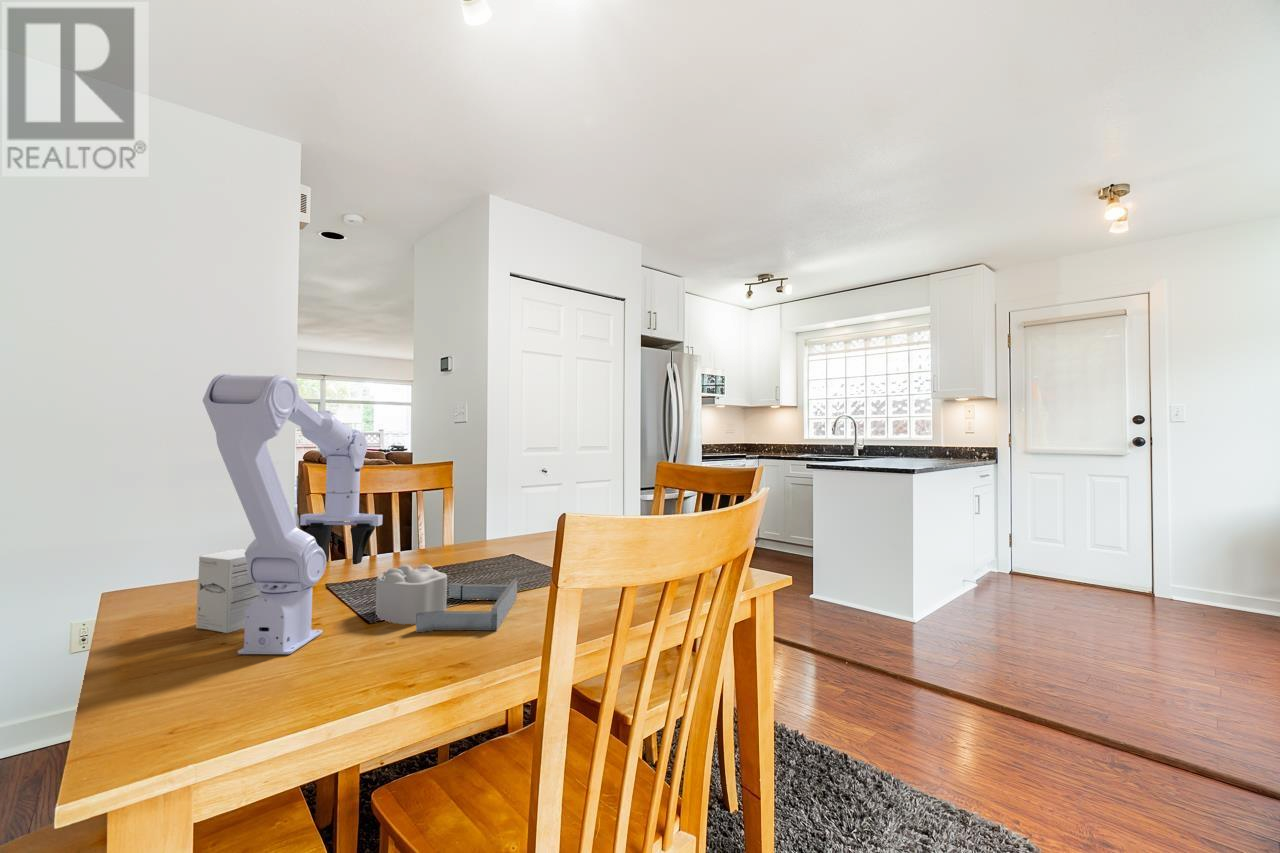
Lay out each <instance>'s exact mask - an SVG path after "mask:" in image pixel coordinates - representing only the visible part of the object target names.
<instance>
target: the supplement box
mask: <svg viewBox="0 0 1280 853" xmlns="http://www.w3.org/2000/svg"><path fill="white" fill-rule="evenodd" d="M246 550H247V549H242V548H237V549H236V548H235V549H229V550H224V551H220V552H214V553H207V554H205V555H199V557H198V558H199V559H198V578H197V579H198V580H197V581H198V582H197V602H196V623H195V628H196V629H201V630H209V631H214V632H219V633H223V634H229V633H233V632H235V631H239V630H242V629H245V613H246V610H247V608H248V607H249V606H250V604H251V603H252V602H254V601H255V600H256V599H257V598H258V596H259V594H260V590H256V589H255V588H256V584H254V583H253V582H251V580H250V579H249V577H248V572H247V559H246V556H245V554H244V553H245V551H246Z"/></svg>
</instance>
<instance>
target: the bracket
mask: <svg viewBox="0 0 1280 853" xmlns="http://www.w3.org/2000/svg"><path fill="white" fill-rule="evenodd" d="M448 585H449V587H448V588H449V590H448V593H449V594H448V599H449V598H454V599H462V600H466V599H467V600H468V599H469V600H470V599H485V600H487V599H488V600H497V601H495V603H494V604H493V605H492V607H491V610H446V611H436V612H435V611H430V612H421V613H416V624H415V632H417V633H416V634H419V633H418V632H422V633H426V632H425V631H429V632H434V631H433V630H497V629H498V630H499V628H500V627H501V625H502V623H503V622H502V621H504V620H505V619H504V618H506V617H507V616H508V614H509V612H510V611H511V609H512V607H513V606H514V604H515V603H514V601H515V600H516V601H517V599H518V579H512V580H511V581H510V583H509V584H484V583H483V584H482V583H481V584H477V583H475V584H471V583H470V584H469V583H467V584H466V583H459V582H452V583H449V584H448ZM516 598H517V599H516ZM454 599H453V600H454ZM462 600H461V601H462ZM516 601H515V602H516ZM513 603H514V604H513ZM512 605H513V606H512ZM511 606H512V607H511ZM510 608H511V609H510ZM509 610H510V611H509ZM508 611H509V612H508ZM507 613H508V614H507ZM505 616H506V617H505ZM503 619H504V620H503ZM501 622H502V623H501ZM500 624H501V625H500ZM499 626H500V627H499ZM498 627H499V628H498ZM498 630H497V631H498Z"/></svg>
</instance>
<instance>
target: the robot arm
mask: <svg viewBox="0 0 1280 853" xmlns="http://www.w3.org/2000/svg"><path fill="white" fill-rule="evenodd" d="M298 386H299V385H298V384H297V383H295V382H293V381H292V380H291V379H290V378H289V377H288V376H286V375H282V374H275V375H240V374H239V375H238V374H237V375H235V374H234V375H232V374H229V373H227V374H226V373H221V374H218V375H216V376H214V378H212V379H211V381H210V382H209V383H208V387H207V388H206V391H205V394H204V396H203V398H202V402H203V405H204V408H205V410H206V412H207V415H208V417H209V420H210V422H211V424H212V427H213V429H214V431H215V438H216V444H217V448H218V451H219V452H220V455H221V458H222V460H223V463H224V465H225V468H226V470H227V471H228V472H227V473H228V474H229V476H230V479H231V482H232V484H233V486H234V490H235V491H236V494H237V496H238V498H239V501H240V503H241V506H242V508H243V511H244V513H245V516H246V518H247V520H248V523H249V526H250V527H251V529H252V532H253V535H254V537H255V539H253V540H252V541H251V542H250V544H248V547H247V548H246V549H245V550H246V551H245V553H244V554H245V556H246V559H247V572H248V577H249V579H250V580H251V582H253V583H254V584H256V588H255V589H256V590H260V594H259V596H258V598H257V599H256V600H255V601H254V602H252V603H251V604H250V606H249V607H248V608H247V610H246V613H245V628H244V629H243V630H244V632H243V633H244V634H243V636H244V637H243V647H241V648H240V649H238V650H237V654H238V655H291V654H292V653H294V652H295V651H296V650H298V649H300V648H301V647H303V646H304V645H306V644H307V643H309V642H311V641H312V640H313V639H315V638H316V637H319V636H320V635H321V634H322V633H323V629H312V620H313V619H312V616H313V614H312V613H313V586H316V585H317V584H318V582H320V580H321V579H322V577H323V576H324V573H325V572H326V568H327V563H328V562H329V560H330V545H331V544H330V543H331V535H332V531H333V527H334V526H354V527H351V528H350V529H349V530H350V534H351V535H350V536H351V539H352V540H351V541H352V554H351V555H352V559H351V560H352V565H358V564H360V563H362V560H363V556H364V553H365V549H366V547H367V544H368V542H369V540H370V538H371V536H372V534H373V532H374V531H375V529H376V527H379V526H382V525H383V516H384V515H383V514H372V513H363V512H362V513H361V512H360V490H361V487H360V486H361V469H362V468H363V466H364V465H365V464H364V462H365V456H366V454H367V452H368V451H367V450H368V441H367V438H366V435H365V434H364V433H363V432H361V431H360V430H358V429H351V428H349V427H348V426H347V425H346V424H345V423H344V422H342V421H340V420H339V419H337V417H335V416H334V413H333V412H331V410H316V409H315V408H314V407H313V406H312V405H311V404H310V403H308V402H307V401H306V400H305V399H304V398H303V397H302V396H301V395H300V392H299V387H298ZM287 421H289V422H291V423H293V424H295V425H296V426H298V427H300V431H301V432H300V433H301V435H302V437H304V438H305V439H306V440H308V441H309V442H311V443H312V444H314V445H315V446H317V448H318V449H319V452H320V455H321V456H322V457H323V458H324V459H326V474H325V475H326V476H325V479H326V480H325V501H324V503H325V505H324V508H325V509H324V513H304V514H300V518H299V519H300V520H299V522H300V523H299V525H300V526H308V525H309V527H307V528H306V529H305V531H304V530H302V529H300V528H299V527H297V525H296V522H295V520H294V517H293V514H292V510H291V508H290V505H289V503H288V500H287V497H286V495H285V494H286V493H285V492H284V488H283V485H282V483H281V481H280V477H279V475H278V473H277V470H276V468H275V465H274V461H273V459H272V456H271V454H270V451H269V448H268V446H267V443H268V441H269V440H270V439H273V438H275V437H278V435H279V433H280V432H281V431H282V428H283V427H284V426H285V424H286V422H287Z"/></svg>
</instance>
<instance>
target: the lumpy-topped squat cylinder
mask: <svg viewBox="0 0 1280 853" xmlns="http://www.w3.org/2000/svg"><path fill="white" fill-rule="evenodd" d="M375 586H376V587H375V588H376V590H375V616H376V615H377V617H378V618H380V619H383V620H385V621H384V622H386V621H388V622H387V623H391V622H392V623H391V624H397V623H398V624H399V625H405V624H411V625H416V613H421V612H430V611H435V612H436V611H447V598H448V597H447V594H448V592H447V591H448V575H447V574H446V573H445V572H442V571H441V572H440V571H438V570H436V569H433V567H432V565H430V564H427V563H423V564H422V565H420V566H418V567H414V568H413V567H412V566H410V565H408V564H403V565H399V566H398V567H397V568H395V567H392V568H389V569H387V571H384V572H382V573H380V574H378V575H377V577H376V584H375ZM377 617H376V618H377ZM378 618H377V619H378ZM398 624H397V625H398Z"/></svg>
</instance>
